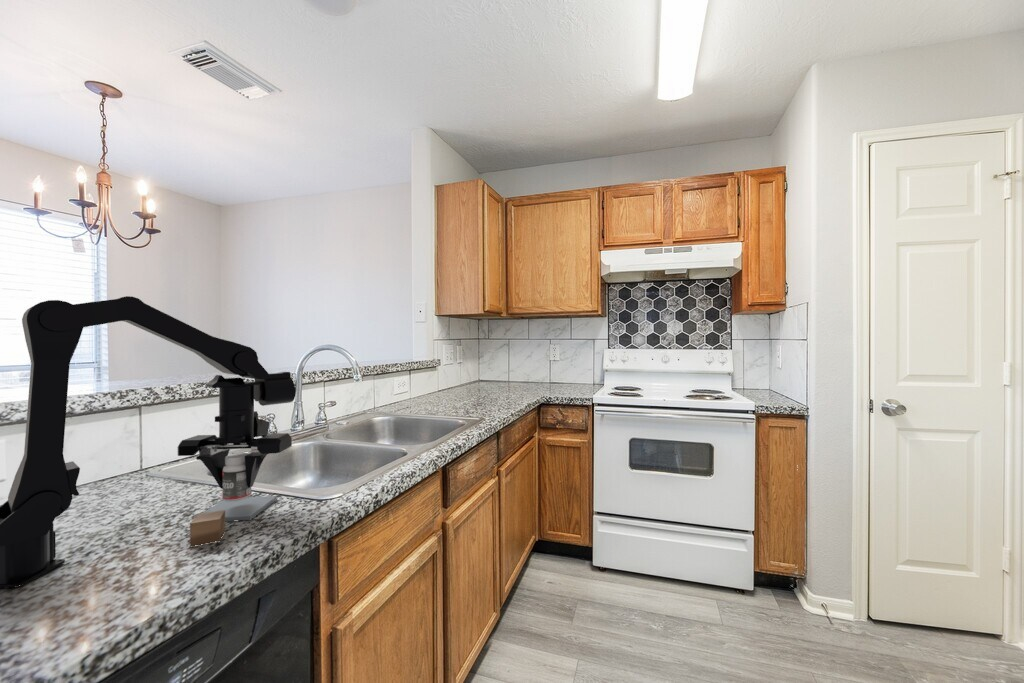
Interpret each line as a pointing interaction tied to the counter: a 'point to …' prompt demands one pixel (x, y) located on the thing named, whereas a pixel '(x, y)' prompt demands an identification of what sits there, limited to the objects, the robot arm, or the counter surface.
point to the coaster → (243, 507)
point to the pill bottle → (235, 478)
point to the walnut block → (207, 527)
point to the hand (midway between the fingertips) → (237, 487)
